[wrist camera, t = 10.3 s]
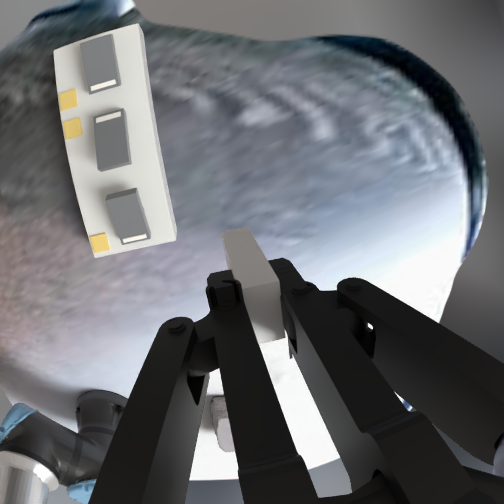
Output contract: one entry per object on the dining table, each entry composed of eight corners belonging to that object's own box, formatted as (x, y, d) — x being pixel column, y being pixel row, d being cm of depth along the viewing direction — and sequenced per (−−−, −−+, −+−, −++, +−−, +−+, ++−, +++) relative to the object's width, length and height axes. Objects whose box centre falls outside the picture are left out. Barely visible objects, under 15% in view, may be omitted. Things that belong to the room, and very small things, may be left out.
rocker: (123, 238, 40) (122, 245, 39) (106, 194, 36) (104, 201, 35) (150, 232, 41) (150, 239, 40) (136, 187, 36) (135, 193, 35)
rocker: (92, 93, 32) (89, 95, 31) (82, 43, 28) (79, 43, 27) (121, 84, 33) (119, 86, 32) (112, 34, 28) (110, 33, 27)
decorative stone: (242, 385, 62) (196, 398, 61) (249, 409, 55) (200, 423, 54) (258, 422, 68) (218, 434, 67) (265, 444, 62) (223, 456, 60)
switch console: (101, 245, 45) (91, 261, 40) (64, 57, 33) (49, 49, 28) (176, 229, 47) (175, 243, 41) (143, 33, 35) (137, 21, 29)
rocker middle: (101, 172, 35) (97, 169, 33) (96, 120, 34) (92, 116, 32) (131, 164, 35) (128, 161, 34) (126, 112, 35) (123, 107, 33)
